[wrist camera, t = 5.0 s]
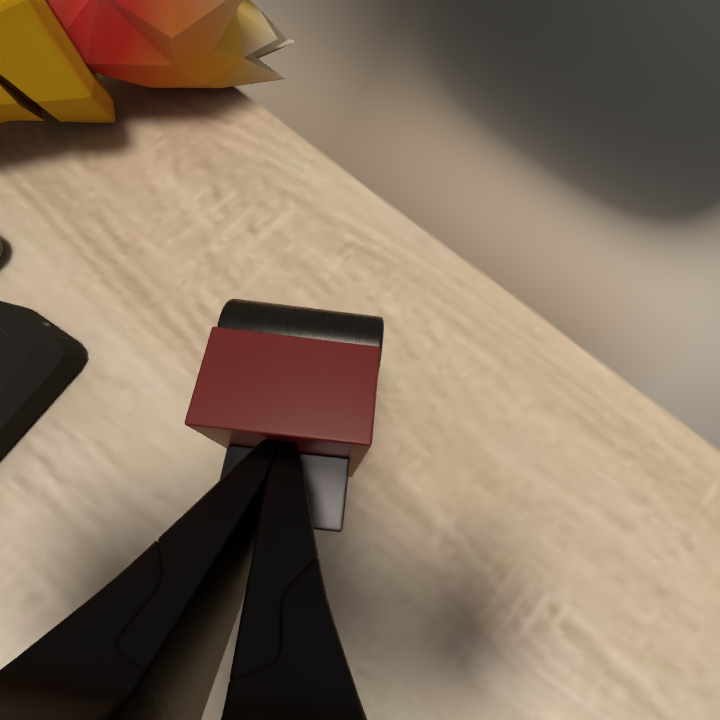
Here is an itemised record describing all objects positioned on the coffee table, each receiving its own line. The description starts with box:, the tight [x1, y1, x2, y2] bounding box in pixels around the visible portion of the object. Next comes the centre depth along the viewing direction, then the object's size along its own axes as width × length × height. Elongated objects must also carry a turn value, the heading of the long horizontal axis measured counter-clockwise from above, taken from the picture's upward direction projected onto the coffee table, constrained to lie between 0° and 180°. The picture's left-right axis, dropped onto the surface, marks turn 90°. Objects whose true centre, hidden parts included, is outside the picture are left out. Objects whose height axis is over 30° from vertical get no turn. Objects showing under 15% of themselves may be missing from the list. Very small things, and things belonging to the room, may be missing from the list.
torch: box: [0, 0, 295, 123], centre depth 18 cm, size 8×8×25 cm
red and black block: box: [185, 299, 384, 532], centre depth 13 cm, size 6×5×9 cm
